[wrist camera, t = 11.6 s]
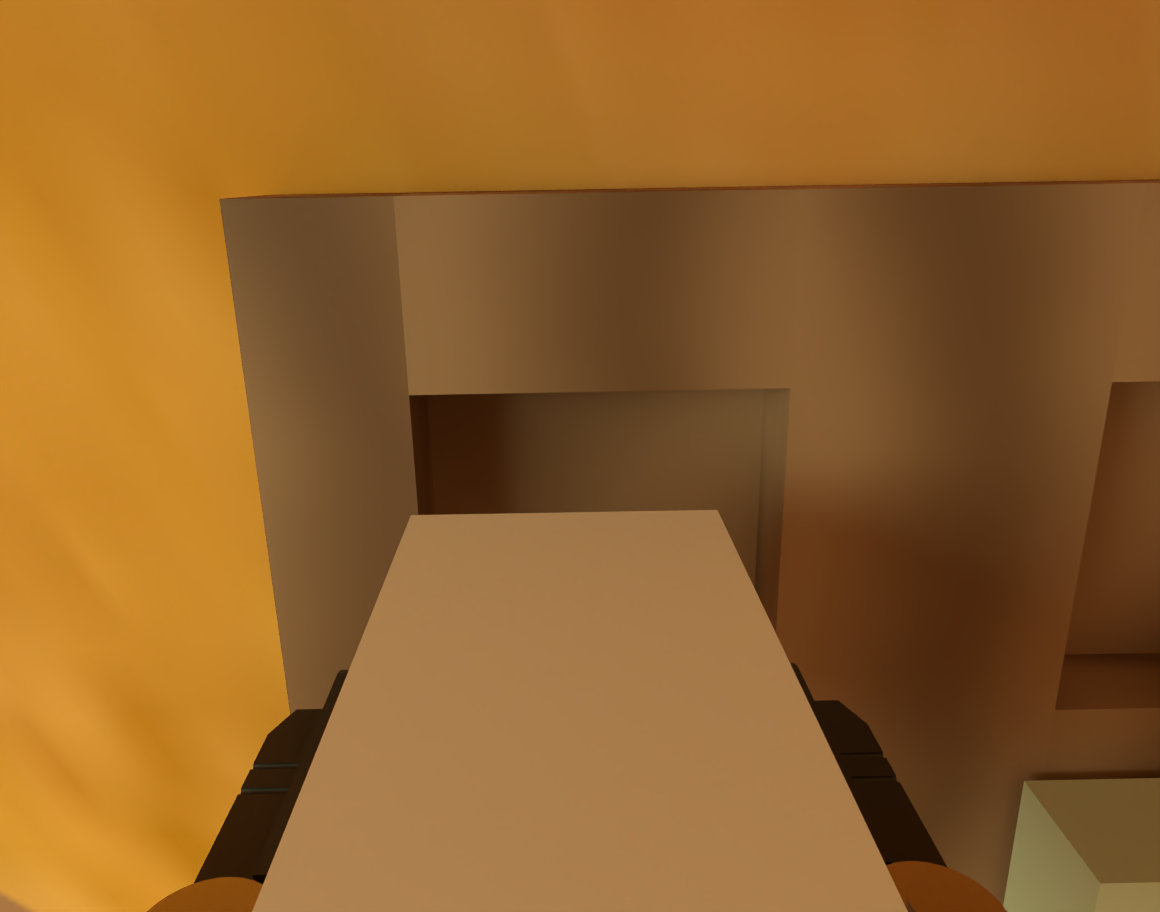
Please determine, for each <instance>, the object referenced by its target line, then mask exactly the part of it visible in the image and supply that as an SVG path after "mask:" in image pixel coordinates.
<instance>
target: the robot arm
mask: <svg viewBox="0 0 1160 912" xmlns="http://www.w3.org/2000/svg"><path fill="white" fill-rule="evenodd" d="M790 664H791V666H792V668H793V671H794V673H795V675H796V677H797V679H798V681H799V683H800V685H801V687H802V689H803V692H804V694H805V696H806V698H807V700H808V702H809V704H810V706H811V708H812V711H813V713H814V715H815V717H816V719H817V721H818V723H819V725H820V727H821V730H822V732H823V734H824V736H825V738H826V740H827V742H828V744H829V746H830V749H831V751H832V753H833V755H834V757H835V759H836V761H837V763H838V765H839V768H840V770H841V772H842V774H843V776H844V778H845V780H846V782H847V784H848V787H849V789H850V791H851V793H852V795H853V797H854V799H855V801H856V803H857V805H858V808H859V810H860V812H861V814H862V816H863V818H864V820H865V822H866V824H867V827H868V829H869V831H870V833H871V835H872V837H873V839H874V841H875V843H876V846H877V848H878V850H879V852H880V854H881V856H882V858H883V860H884V862H885V865H886V867H887V869H888V871H889V873H890V875H891V877H892V879H893V881H894V884H895V886H896V888H897V890H898V892H899V894H900V896H901V898H902V900H903V903H904V905H905V907H906V909H907V911H908V912H1007V911H1006V909H1005V908H1004V907H1003V906H1002V904H1001V903H1000V902H999V901H998V900H997V899H996V898H995V897H994V896H993V895H992V894H991V893H990V892H989V891H988V890H987V889H985V888H984V887H983V886H982V885H980V884H979V883H977V882H976V881H974V880H972V879H971V878H969V877H968V876H966V875H964V874H961V873H959V872H957V871H955V870H953V869H950V868H948V867H947V865H946V864H945V862H944V860H943V858H942V856H941V855H940V853H939V851H938V849H937V847H936V846H935V844H934V842H933V840H932V839H931V837H930V835H929V833H928V831H927V830H926V828H925V826H924V824H923V822H922V821H921V819H920V817H919V815H918V813H917V812H916V810H915V808H914V806H913V805H912V803H911V801H910V799H909V797H908V796H907V794H906V792H905V790H904V788H903V787H902V785H901V783H900V782H897V779H896V774H895V772H894V771H893V769H892V767H891V765H890V763H889V762H888V760H887V758H884V756H883V751H882V749H881V747H880V746H879V744H878V742H877V740H876V738H875V737H874V735H873V733H872V731H871V729H870V728H869V726H868V724H867V723H866V722H864V721H863V720H862V719H861V718H859V717H858V716H857V715H856V714H855V713H853V712H852V711H851V710H850V709H848V708H847V707H846V706H845V705H843V704H842V703H841V702H840V701H839V700H821V701H814V699H813V697H812V695H811V693H810V690H809V688H808V686H807V684H806V682H805V680H804V678H803V676H802V674H801V672H800V670H799V668H798V666H797V665H796V664H795V663H790ZM348 671H349V670H340V671H339V672H338V674H337V676H336V678H335V681H334V683H333V685H332V688H331V690H330V692H329V695H328V697H327V699H326V702H325V704H324V707H323V709H296V710H295V711H294V712H293V713H292V714H291V715H290V716H288V717H287V718H286V719H285V720H284V721H283V722H282V723H281V724H279V725H278V726H277V727H276V728H275V729H274V730H273V731H271V732H270V733H269V734H268V735H267V737H266V739H265V741H264V743H263V745H262V747H261V749H260V751H259V753H258V756H257V758H256V760H255V762H254V764H253V770H250V772H249V774H248V776H247V778H246V780H245V782H244V784H243V786H242V788H241V794H238V796H237V798H236V800H235V802H234V804H233V806H232V808H231V810H230V812H229V814H228V816H227V818H226V820H225V822H224V824H223V826H222V828H221V830H220V832H219V834H218V836H217V838H216V840H215V842H214V844H213V846H212V848H211V850H210V852H209V854H208V856H207V858H206V860H205V862H204V864H203V866H202V868H201V870H200V872H199V874H198V876H197V878H196V880H195V882H194V884H191V885H189V886H187V887H184V888H182V889H180V890H178V891H176V892H174V893H172V894H170V895H168V896H167V897H165V898H164V899H162V900H161V901H159V902H158V903H157V904H155V905H154V906H153V907H152V908H151V909H149V910H148V911H147V912H252V911H253V908H254V906H255V903H256V901H257V898H258V896H259V893H260V891H261V888H262V886H263V883H264V881H265V878H266V876H267V873H268V871H269V868H270V866H271V863H272V861H273V858H274V856H275V853H276V851H277V848H278V846H279V843H280V841H281V838H282V836H283V833H284V831H285V828H286V826H287V823H288V821H289V818H290V816H291V813H292V811H293V808H294V806H295V803H296V801H297V798H298V796H299V793H300V791H301V788H302V786H303V783H304V781H305V778H306V776H307V773H308V771H309V768H310V766H311V763H312V761H313V758H314V756H315V753H316V751H317V748H318V746H319V743H320V741H321V738H322V736H323V733H324V731H325V728H326V726H327V723H328V721H329V718H330V716H331V713H332V711H333V708H334V706H335V703H336V701H337V698H338V696H339V694H340V691H341V689H342V686H343V684H344V681H345V679H346V676H347V674H348Z"/></svg>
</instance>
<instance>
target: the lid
mask: <svg viewBox="0 0 1160 912" xmlns="http://www.w3.org/2000/svg"><path fill="white" fill-rule="evenodd" d="M1003 907H1004V908H1005V909H1006V911H1007V912H1160V778H1135V779H1087V780H1039V781H1024V784H1023V790H1022V796H1021V802H1020V808H1019V814H1018V820H1017V826H1016V832H1015V838H1014V844H1013V850H1012V856H1011V862H1010V868H1009V874H1008V880H1007V886H1006V892H1005V898H1004V904H1003Z"/></svg>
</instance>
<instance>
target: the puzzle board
mask: <svg viewBox="0 0 1160 912" xmlns="http://www.w3.org/2000/svg"><path fill="white" fill-rule="evenodd" d="M220 206H221V213H222V220H223V227H224V235H225V242H226V249H227V257H228V264H229V271H230V278H231V286H232V293H233V300H234V308H235V315H236V322H237V329H238V337H239V344H240V351H241V358H242V366H243V373H244V380H245V388H246V395H247V402H248V409H249V417H250V424H251V431H252V439H253V446H254V453H255V460H256V468H257V475H258V482H259V489H260V497H261V504H262V511H263V519H264V526H265V533H266V540H267V548H268V555H269V562H270V569H271V577H272V584H273V591H274V599H275V606H276V613H277V620H278V628H279V635H280V642H281V650H282V657H283V664H284V671H285V679H286V686H287V693H288V700H289V708H290V715H291V714H292V713H293V712H294V711H295V710H296V709H323V707H324V704H325V702H326V699H327V697H328V695H329V692H330V690H331V688H332V685H333V683H334V681H335V678H336V676H337V674H338V672H339V671H340V670H349V669H350V666H351V664H352V661H353V659H354V656H355V654H356V651H357V649H358V646H359V644H360V641H361V639H362V636H363V634H364V631H365V629H366V626H367V624H368V621H369V619H370V616H371V614H372V611H373V609H374V606H375V604H376V601H377V599H378V596H379V594H380V591H381V589H382V586H383V584H384V581H385V579H386V576H387V574H388V571H389V569H390V566H391V564H392V561H393V559H394V556H395V554H396V551H397V549H398V546H399V544H400V541H401V539H402V536H403V534H404V531H405V529H406V526H407V524H408V521H409V519H410V516H411V515H449V514H506V513H564V512H621V511H678V510H718V512H719V514H720V517H721V519H722V521H723V523H724V525H725V527H726V529H727V531H728V533H729V536H730V538H731V540H732V542H733V544H734V546H735V548H736V550H737V552H738V555H739V557H740V559H741V561H742V563H743V565H744V567H745V569H746V571H747V573H748V576H749V578H750V580H751V582H752V584H753V586H754V588H755V590H756V592H757V595H758V597H759V599H760V601H761V603H762V605H763V607H764V609H765V611H766V614H767V616H768V618H769V620H770V622H771V624H772V626H773V628H774V630H775V633H776V635H777V637H778V639H779V641H780V643H781V645H782V647H783V649H784V652H785V654H786V656H787V658H788V660H789V662H790V663H795V664H796V665H797V666H798V668H799V670H800V672H801V674H802V676H803V678H804V680H805V682H806V684H807V686H808V688H809V690H810V693H811V695H812V697H813V699H814V701H821V700H839V701H840V702H841V703H842V704H843V705H845V706H846V707H847V708H848V709H850V710H851V711H852V712H853V713H855V714H856V715H857V716H858V717H859V718H861V719H862V720H863V721H864V722H866V723H867V724H868V726H869V728H870V729H871V731H872V733H873V735H874V737H875V738H876V740H877V742H878V744H879V746H880V747H881V749H882V751H883V756H884V758H887V760H888V762H889V763H890V765H891V767H892V769H893V771H894V772H895V774H896V779H897V782H900V783H901V785H902V787H903V788H904V790H905V792H906V794H907V796H908V797H909V799H910V801H911V803H912V805H913V806H914V808H915V810H916V812H917V813H918V815H919V817H920V819H921V821H922V822H923V824H924V826H925V828H926V830H927V831H928V833H929V835H930V837H931V839H932V840H933V842H934V844H935V846H936V847H937V849H938V851H939V853H940V855H941V856H942V858H943V860H944V862H945V864H946V865H947V867H948V868H950V869H953V870H955V871H957V872H959V873H961V874H964V875H966V876H968V877H969V878H971V879H972V880H974V881H976V882H977V883H979V884H980V885H982V886H983V887H984V888H985V889H987V890H988V891H989V892H990V893H991V894H992V895H993V896H994V897H995V898H996V899H997V900H998V901H999V902H1000V903H1001V904H1002V906H1003V904H1004V898H1005V892H1006V886H1007V880H1008V874H1009V868H1010V862H1011V856H1012V850H1013V844H1014V838H1015V832H1016V826H1017V820H1018V814H1019V808H1020V802H1021V796H1022V790H1023V784H1024V781H1039V780H1087V779H1135V778H1160V180H1107V181H1049V182H991V183H933V184H875V185H818V186H760V187H702V188H644V189H586V190H528V191H470V192H412V193H355V194H297V195H263V196H250V197H238V198H226V199H220Z"/></svg>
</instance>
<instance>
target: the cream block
mask: <svg viewBox="0 0 1160 912" xmlns="http://www.w3.org/2000/svg"><path fill="white" fill-rule="evenodd" d="M252 912H908V911H907V909H906V907H905V905H904V903H903V900H902V898H901V896H900V894H899V892H898V890H897V888H896V886H895V884H894V881H893V879H892V877H891V875H890V873H889V871H888V869H887V867H886V865H885V862H884V860H883V858H882V856H881V854H880V852H879V850H878V848H877V846H876V843H875V841H874V839H873V837H872V835H871V833H870V831H869V829H868V827H867V824H866V822H865V820H864V818H863V816H862V814H861V812H860V810H859V808H858V805H857V803H856V801H855V799H854V797H853V795H852V793H851V791H850V789H849V787H848V784H847V782H846V780H845V778H844V776H843V774H842V772H841V770H840V768H839V765H838V763H837V761H836V759H835V757H834V755H833V753H832V751H831V749H830V746H829V744H828V742H827V740H826V738H825V736H824V734H823V732H822V730H821V727H820V725H819V723H818V721H817V719H816V717H815V715H814V713H813V711H812V708H811V706H810V704H809V702H808V700H807V698H806V696H805V694H804V692H803V689H802V687H801V685H800V683H799V681H798V679H797V677H796V675H795V673H794V671H793V668H792V666H791V664H790V662H789V660H788V658H787V656H786V654H785V652H784V649H783V647H782V645H781V643H780V641H779V639H778V637H777V635H776V633H775V630H774V628H773V626H772V624H771V622H770V620H769V618H768V616H767V614H766V611H765V609H764V607H763V605H762V603H761V601H760V599H759V597H758V595H757V592H756V590H755V588H754V586H753V584H752V582H751V580H750V578H749V576H748V573H747V571H746V569H745V567H744V565H743V563H742V561H741V559H740V557H739V555H738V552H737V550H736V548H735V546H734V544H733V542H732V540H731V538H730V536H729V533H728V531H727V529H726V527H725V525H724V523H723V521H722V519H721V517H720V514H719V512H718V510H678V511H621V512H564V513H506V514H449V515H411V516H410V519H409V521H408V524H407V526H406V529H405V531H404V534H403V536H402V539H401V541H400V544H399V546H398V549H397V551H396V554H395V556H394V559H393V561H392V564H391V566H390V569H389V571H388V574H387V576H386V579H385V581H384V584H383V586H382V589H381V591H380V594H379V596H378V599H377V601H376V604H375V606H374V609H373V611H372V614H371V616H370V619H369V621H368V624H367V626H366V629H365V631H364V634H363V636H362V639H361V641H360V644H359V646H358V649H357V651H356V654H355V656H354V659H353V661H352V664H351V666H350V669H349V671H348V674H347V676H346V679H345V681H344V684H343V686H342V689H341V691H340V694H339V696H338V698H337V701H336V703H335V706H334V708H333V711H332V713H331V716H330V718H329V721H328V723H327V726H326V728H325V731H324V733H323V736H322V738H321V741H320V743H319V746H318V748H317V751H316V753H315V756H314V758H313V761H312V763H311V766H310V768H309V771H308V773H307V776H306V778H305V781H304V783H303V786H302V788H301V791H300V793H299V796H298V798H297V801H296V803H295V806H294V808H293V811H292V813H291V816H290V818H289V821H288V823H287V826H286V828H285V831H284V833H283V836H282V838H281V841H280V843H279V846H278V848H277V851H276V853H275V856H274V858H273V861H272V863H271V866H270V868H269V871H268V873H267V876H266V878H265V881H264V883H263V886H262V888H261V891H260V893H259V896H258V898H257V901H256V903H255V906H254V908H253V911H252Z"/></svg>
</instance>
